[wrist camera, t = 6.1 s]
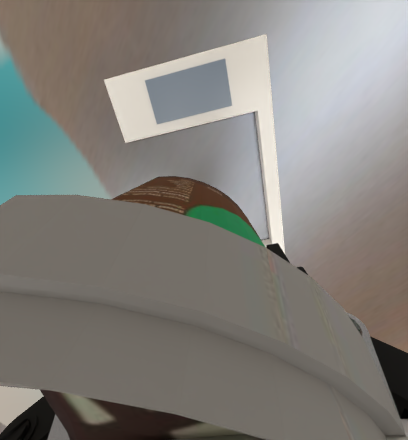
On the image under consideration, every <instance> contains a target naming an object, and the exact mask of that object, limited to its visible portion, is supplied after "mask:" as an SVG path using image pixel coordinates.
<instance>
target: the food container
mask: <svg viewBox="0 0 408 440" xmlns="http://www.w3.org/2000/svg"><path fill="white" fill-rule="evenodd" d="M0 386H8V387H19V388H30V389H40V390H41V392H42V394H43V395H44V397H45V398H46V400H47V402H48V403H49V405H50V406H51V408H52V409H53V411H54V412H55V414H56V416H57V417H58V419H59V420H60V422H61V423H62V425H63V426H64V428H65V430H66V431H67V433H68V436H69V439H70V440H176V439H189V438H202V437H214V436H227V435H241V434H247V435H251V436H254V437H258V438H261V439H265V440H387V439H386V436H385V435H388V436H404V435H406V434H405V431H404V427H403V424H402V422H401V420H400V418H399V415H398V413H397V411H396V409H395V407H394V405H393V402H392V400H391V398H390V396H389V394H388V391H387V389H386V387H385V385H384V383H383V380H382V378H381V376H380V374H379V372H378V370H377V367H376V365H375V363H374V361H373V359H372V356H371V354H370V352H369V350H368V348H367V345H366V343H365V341H364V339H363V337H362V336H361V334H360V333H359V331H358V330H357V328H356V327H355V325H354V324H353V322H352V321H351V319H350V318H349V316H348V315H347V313H346V312H345V310H344V309H343V307H342V306H340V305H339V304H338V303H337V302H336V301H335V300H334V299H333V298H332V297H331V296H330V295H329V294H328V293H327V292H326V291H325V290H324V289H323V288H322V287H321V286H320V285H319V284H318V283H316V282H315V281H314V280H313V279H312V278H311V277H310V276H308V275H307V274H305V273H304V272H302V271H301V270H299V269H298V268H296V267H295V266H293V265H292V264H290V263H289V262H287V261H286V260H284V259H282V258H281V257H279V256H278V255H276V254H275V253H273V252H272V251H270V250H269V249H267V248H266V247H265V246H264V244H263V242H262V241H261V239H260V238H259V236H258V235H257V233H256V231H255V230H254V228H253V227H252V225H251V223H250V222H249V220H248V219H247V217H246V216H245V214H244V213H243V212H242V210H241V209H240V208H239V206H238V205H237V204H236V203H235V202H234V201H233V200H232V199H230V198H229V197H228V196H227V195H225V194H224V193H222V192H221V191H219V190H218V189H216V188H214V187H212V186H210V185H208V184H206V183H204V182H200V181H197V180H193V179H190V178H183V177H176V176H169V177H157V178H155V179H153V180H151V181H149V182H147V183H144V184H142V185H140V186H138V187H136V188H134V189H132V190H130V191H128V192H126V193H124V194H121V195H119V196H117V197H115V198H113V199H111V200H110V199H103V198H95V197H88V196H80V195H16V196H14V197H13V198H11V199H9V200H8V201H6V202H5V203H3V204H2V205H0Z"/></svg>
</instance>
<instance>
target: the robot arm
mask: <svg viewBox="0 0 408 440" xmlns="http://www.w3.org/2000/svg"><path fill="white" fill-rule="evenodd" d="M266 248H267V249H269V250H270V251H272V252H273V253H275V254H276V255H278V256H279V257H281V258H282V259H284V260H286V261H287V262H289V260H288V259H287V257H286V255H285V254H284V252H283V250H282V249H281V247H280V245H279V244H278V243H275V244H269V245H266ZM289 263H290V262H289ZM296 268H298V269H299V270H301V271H302V272H304V273H305V274H307V273H306V271H305V270H304V268H303V267H296ZM307 275H308V274H307ZM347 315H348V316H349V318H350V319H351V321H352V322H353V324H354V325H355V327H356V328H357V330H358V331H359V333H360V334H361V336H362V337H363V339H364V341H365V343H366V345H367V348H368V350H369V352H370V354H371V356H372V359H373V361H374V363H375V365H376V367H377V370H378V372H379V374H380V376H381V378H382V380H383V383H384V385H385V387H386V389H387V391H388V394H389V396H390V398H391V400H392V402H393V405H394V407H395V409H396V411H397V413H398V415H399V418H400V420H401V422H402V424H403V427H404V431H405V434H406V435H404V436H388V435H385V436H386V439H387V440H408V353H406V352H404V351H402V350H400V349H397V348H395V347H393V346H391V345H388V344H386V343H384V342H381V341H379V340H377V339H375V338H372V337H370V335H369V333H368V330H367V329H366V327H365V325H364V324H363V323H362V322H361V321H360V320H359V319H358V318H356V317H355V316H353V315H351V314H349V313H347ZM0 440H70V439H69V436H68V433H67V431H66V430H65V428H64V426H63V425H62V423H61V422H60V420H59V419H58V417H57V416H56V414H55V412H54V411H53V409H52V408H51V406H50V405H49V403H48V402H47V400H46V398H45V397H42V398H41V399H40V400H38V401H37V402H36V403H35V404H33V405H32V406H31V407H29V408H28V409H27V410H26V411H25V412H23V413H22V414H21V415H19V416H18V417H17V418H16V419H14V420H13V421H12V422H11V423H10V424H9V425H8V426H7V427H6V428H5V429H4V431H3V432H2V433H1V434H0ZM176 440H265V439H261V438H258V437H254V436H251V435H247V434H241V435H227V436H214V437H202V438H189V439H176Z"/></svg>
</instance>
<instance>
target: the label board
mask: <svg viewBox="0 0 408 440" xmlns="http://www.w3.org/2000/svg"><path fill="white" fill-rule="evenodd" d="M104 82H105V85H106V87H107V90H108V93H109V96H110V99H111V102H112V105H113V108H114V111H115V114H116V117H117V119H118V122H119V125H120V128H121V131H122V134H123V137H124V140H125V143H128V142H133V141H137V140H141V139H145V138H149V137H153V136H158V135H162V134H166V133H170V132H174V131H178V130H182V129H186V128H190V127H194V126H198V125H203V124H207V123H211V122H215V121H219V120H223V119H227V118H231V117H235V116H239V115H244V114H248V113H252V112H255V117H256V126H257V135H258V144H259V153H260V161H261V170H262V179H263V188H264V197H265V206H266V214H267V223H268V232H269V239H265V240H261V241H262V242H263V244H264V246H265V247H266V245H269V244H275V243H278V244H279V245H280V247H281V249H282V250H283V252H284V254H285V250H284V238H283V226H282V214H281V202H280V190H279V178H278V166H277V154H276V142H275V130H274V118H273V106H272V94H271V82H270V70H269V58H268V46H267V34H265V35H261V36H258V37H254V38H251V39H247V40H243V41H240V42H236V43H233V44H229V45H226V46H222V47H219V48H215V49H212V50H208V51H204V52H201V53H197V54H194V55H190V56H187V57H183V58H180V59H176V60H173V61H169V62H166V63H162V64H158V65H155V66H151V67H148V68H144V69H141V70H137V71H134V72H130V73H127V74H123V75H119V76H116V77H112V78H109V79H105V80H104Z"/></svg>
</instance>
